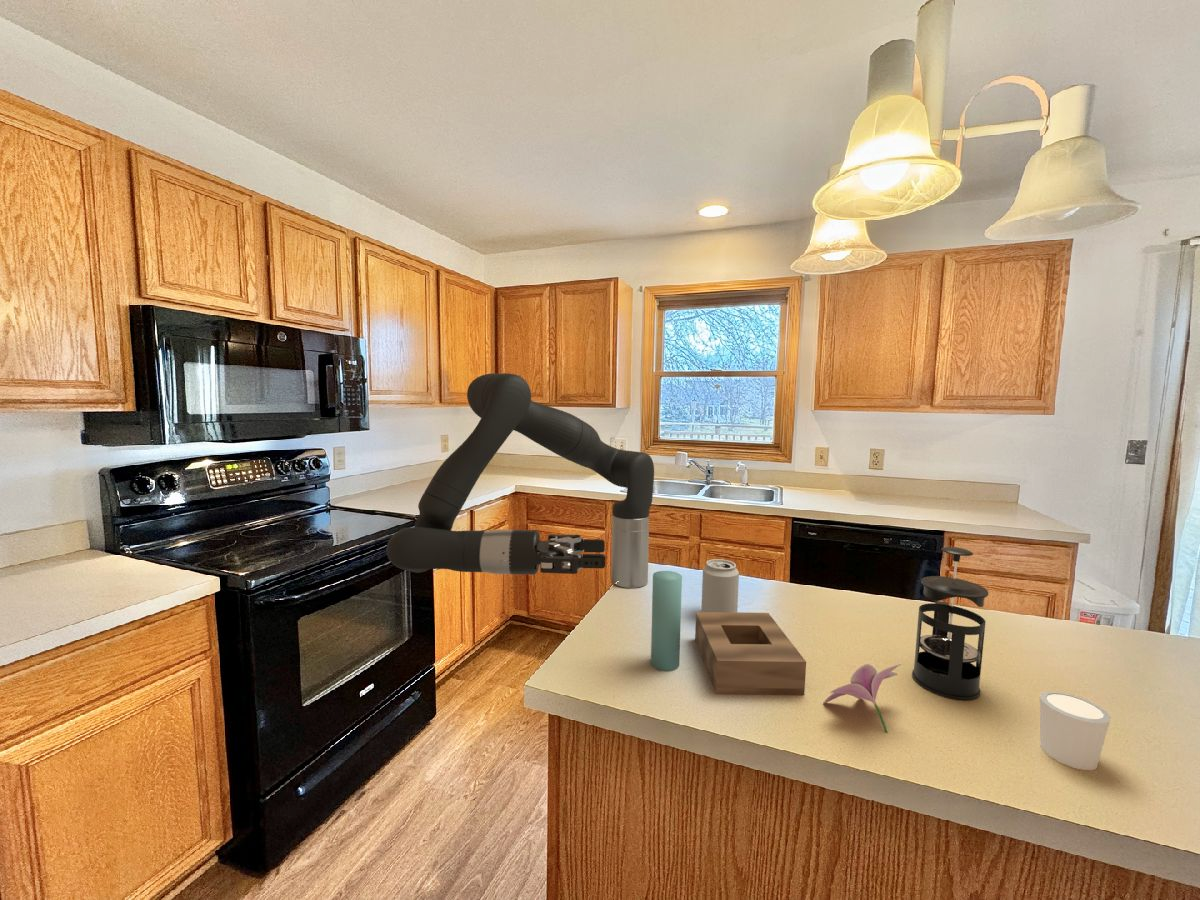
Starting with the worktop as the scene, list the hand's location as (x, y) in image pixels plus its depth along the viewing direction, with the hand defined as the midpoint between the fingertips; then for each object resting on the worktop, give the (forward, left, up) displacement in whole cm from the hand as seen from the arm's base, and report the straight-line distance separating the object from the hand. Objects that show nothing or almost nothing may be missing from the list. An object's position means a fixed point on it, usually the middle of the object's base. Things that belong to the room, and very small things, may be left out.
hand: (604, 553), depth 87 cm
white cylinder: (+22, +62, -20) cm, 69 cm away
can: (-19, +25, -20) cm, 37 cm away
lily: (+14, +39, -20) cm, 46 cm away
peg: (0, +11, -20) cm, 23 cm away
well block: (0, +25, -20) cm, 32 cm away
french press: (+5, +57, -20) cm, 61 cm away
